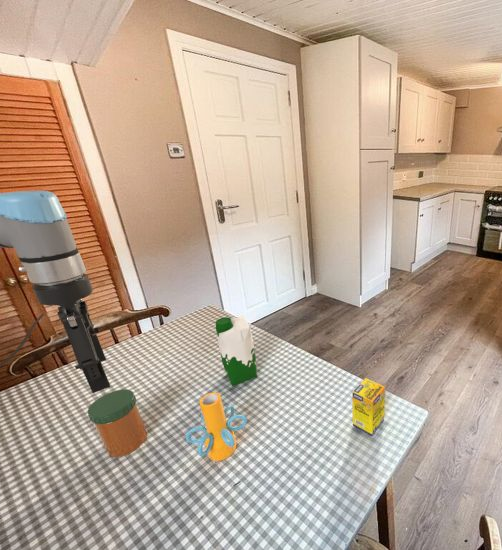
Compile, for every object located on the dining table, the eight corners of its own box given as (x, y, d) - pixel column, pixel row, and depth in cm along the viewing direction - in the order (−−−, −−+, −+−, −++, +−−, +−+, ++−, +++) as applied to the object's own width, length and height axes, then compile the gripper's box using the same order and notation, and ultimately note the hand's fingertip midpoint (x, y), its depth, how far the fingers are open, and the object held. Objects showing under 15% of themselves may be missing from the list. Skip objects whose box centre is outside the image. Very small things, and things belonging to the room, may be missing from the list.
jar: (106, 441, 72) (88, 403, 67) (144, 423, 76) (130, 386, 72) (108, 464, 66) (90, 424, 62) (149, 443, 71) (135, 405, 67)
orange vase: (190, 481, 63) (173, 428, 57) (194, 440, 72) (180, 391, 66) (252, 459, 67) (242, 408, 62) (249, 423, 76) (239, 376, 71)
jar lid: (89, 408, 68) (86, 401, 67) (133, 390, 73) (131, 384, 72) (91, 431, 62) (87, 423, 61) (138, 410, 67) (136, 403, 66)
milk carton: (223, 373, 94) (211, 316, 86) (253, 362, 98) (244, 308, 91) (229, 390, 87) (216, 330, 79) (261, 377, 92) (252, 320, 84)
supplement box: (372, 437, 72) (372, 402, 68) (352, 425, 76) (351, 391, 71) (384, 420, 77) (385, 386, 73) (365, 410, 80) (365, 377, 76)
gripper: (36, 266, 61) (75, 356, 69) (23, 306, 45) (76, 417, 54) (85, 258, 66) (116, 343, 74) (88, 292, 50) (128, 396, 58)
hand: (99, 374), depth 64 cm, fingers open, 11 cm apart
